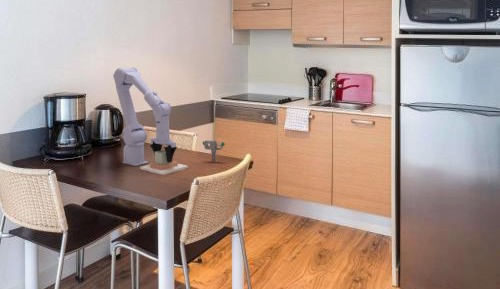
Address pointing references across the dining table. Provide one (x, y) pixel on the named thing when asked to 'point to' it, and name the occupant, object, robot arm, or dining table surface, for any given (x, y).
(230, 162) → the dining table surface
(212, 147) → the mechanical component
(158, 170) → the duct plate
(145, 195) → the dining table surface
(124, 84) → the robot arm
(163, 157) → the striped green box
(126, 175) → the dining table surface
